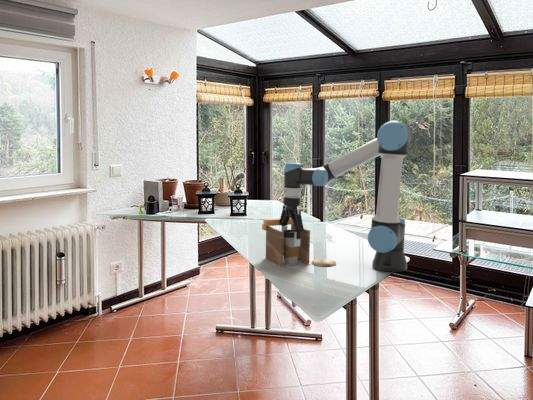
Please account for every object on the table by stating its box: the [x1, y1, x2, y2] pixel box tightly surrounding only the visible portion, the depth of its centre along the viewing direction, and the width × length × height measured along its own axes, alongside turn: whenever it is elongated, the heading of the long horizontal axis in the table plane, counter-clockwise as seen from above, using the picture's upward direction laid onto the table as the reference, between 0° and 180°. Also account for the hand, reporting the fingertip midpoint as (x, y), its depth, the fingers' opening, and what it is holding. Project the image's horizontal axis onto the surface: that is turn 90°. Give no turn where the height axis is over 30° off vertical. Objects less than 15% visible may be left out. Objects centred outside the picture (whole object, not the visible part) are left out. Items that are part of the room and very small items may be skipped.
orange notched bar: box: [261, 217, 293, 231], centre depth 241 cm, size 18×3×5 cm, turn 113°
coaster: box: [311, 258, 337, 268], centre depth 232 cm, size 11×11×1 cm
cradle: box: [265, 224, 311, 268], centre depth 235 cm, size 14×17×16 cm
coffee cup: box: [283, 229, 299, 266], centre depth 231 cm, size 8×8×15 cm
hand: (290, 242), depth 231 cm, fingers open, 13 cm apart
